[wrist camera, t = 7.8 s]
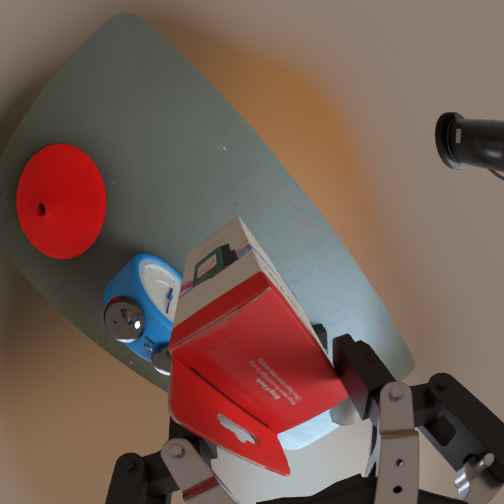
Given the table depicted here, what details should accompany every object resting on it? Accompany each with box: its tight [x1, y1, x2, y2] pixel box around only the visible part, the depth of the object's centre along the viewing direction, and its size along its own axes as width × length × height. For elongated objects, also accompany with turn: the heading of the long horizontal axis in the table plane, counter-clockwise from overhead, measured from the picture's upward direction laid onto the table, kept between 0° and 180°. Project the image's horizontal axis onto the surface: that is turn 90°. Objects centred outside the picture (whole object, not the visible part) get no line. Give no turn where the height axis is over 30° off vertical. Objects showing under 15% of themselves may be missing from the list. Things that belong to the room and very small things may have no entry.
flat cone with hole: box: [17, 144, 106, 259], centre depth 28 cm, size 16×16×7 cm
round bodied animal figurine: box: [330, 396, 360, 426], centre depth 49 cm, size 7×12×8 cm, turn 122°
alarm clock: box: [104, 253, 183, 376], centre depth 31 cm, size 13×6×15 cm, turn 39°
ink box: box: [168, 216, 349, 476], centre depth 15 cm, size 8×5×15 cm, turn 34°
